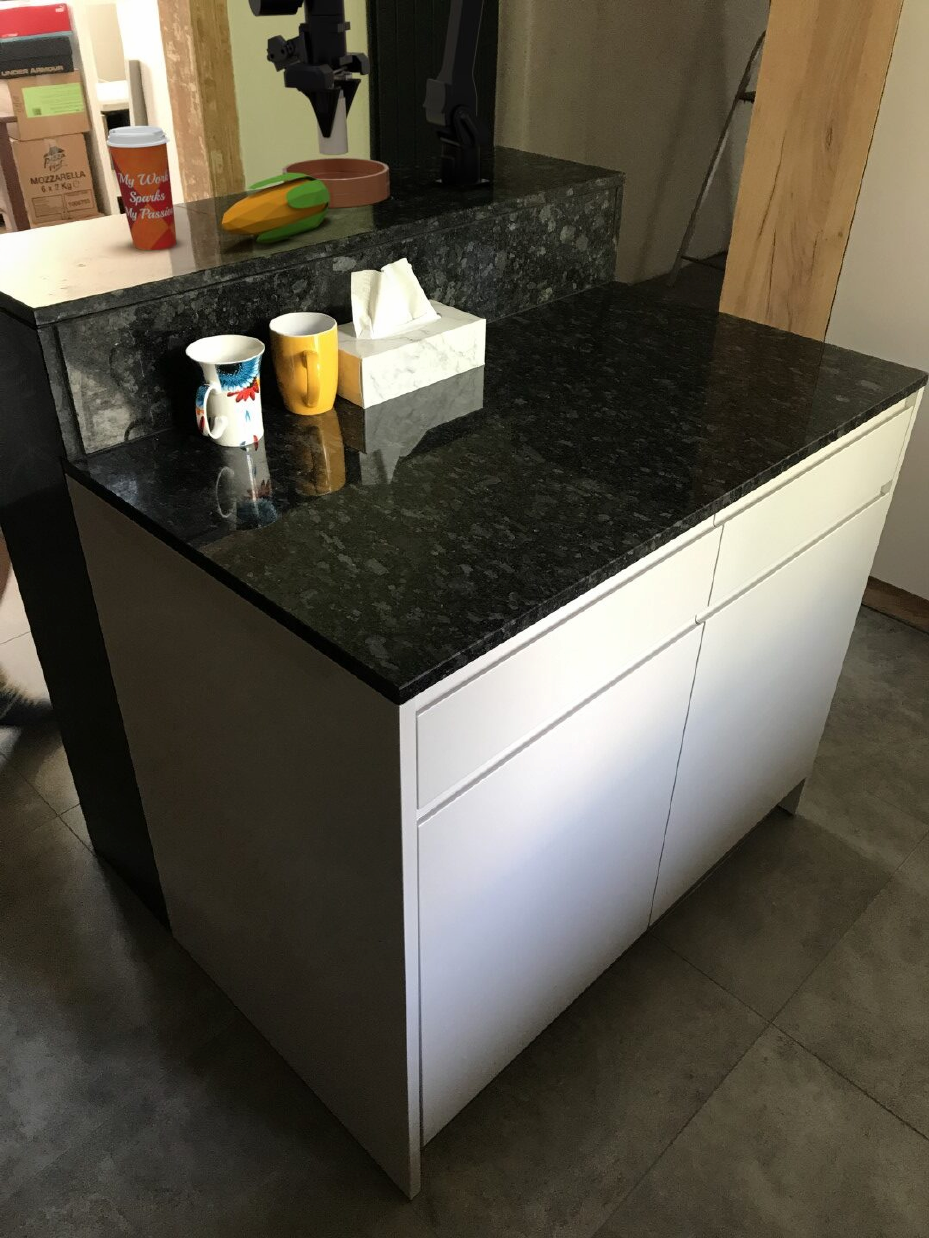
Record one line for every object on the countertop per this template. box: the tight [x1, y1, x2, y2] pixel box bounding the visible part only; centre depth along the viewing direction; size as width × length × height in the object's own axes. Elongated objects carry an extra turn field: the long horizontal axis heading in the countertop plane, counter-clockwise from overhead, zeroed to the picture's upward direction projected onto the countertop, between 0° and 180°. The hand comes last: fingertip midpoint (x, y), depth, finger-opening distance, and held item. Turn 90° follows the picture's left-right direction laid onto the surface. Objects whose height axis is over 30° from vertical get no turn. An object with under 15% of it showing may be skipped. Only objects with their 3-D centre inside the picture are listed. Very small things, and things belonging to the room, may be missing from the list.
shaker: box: [316, 89, 349, 156], centre depth 149 cm, size 4×4×8 cm
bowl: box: [281, 157, 391, 209], centre depth 154 cm, size 16×16×4 cm
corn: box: [221, 173, 330, 244], centre depth 135 cm, size 7×8×20 cm
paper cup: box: [105, 125, 177, 251], centre depth 130 cm, size 8×8×14 cm
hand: (332, 135), depth 150 cm, fingers closed on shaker, 4 cm apart
